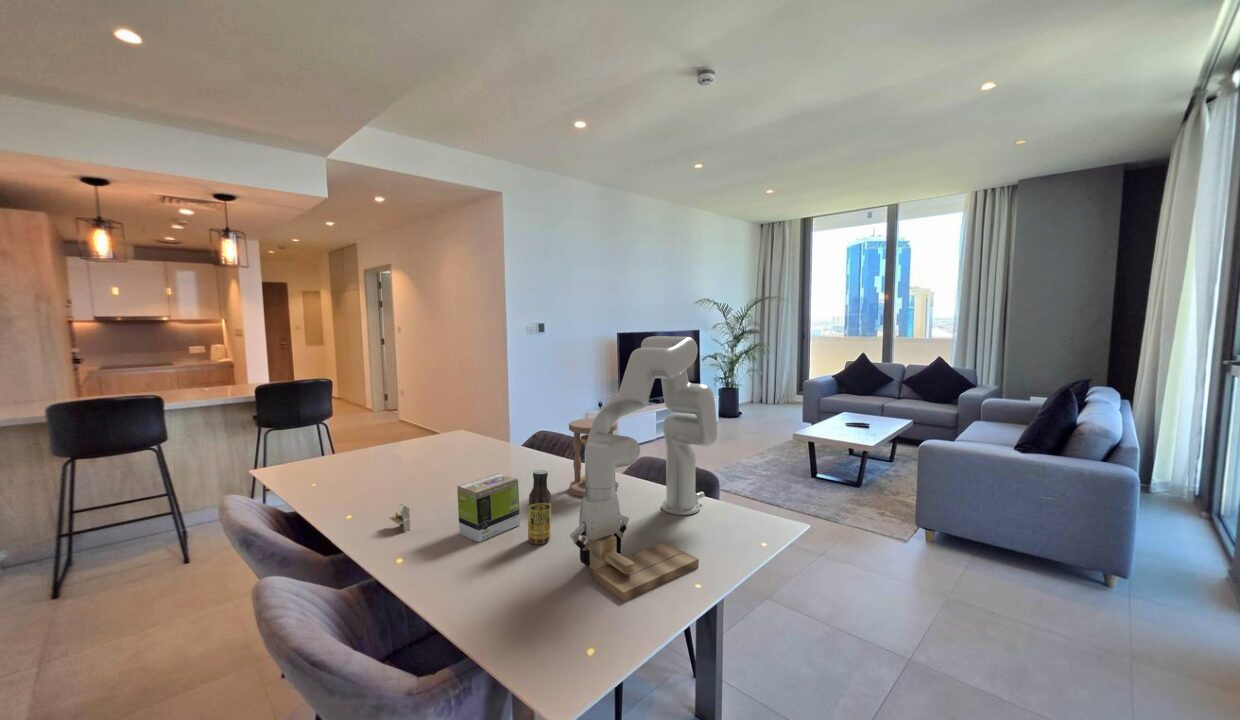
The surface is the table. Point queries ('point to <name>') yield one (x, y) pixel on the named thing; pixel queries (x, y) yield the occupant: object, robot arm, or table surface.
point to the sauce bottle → (539, 509)
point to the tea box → (488, 506)
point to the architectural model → (402, 518)
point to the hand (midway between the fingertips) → (601, 557)
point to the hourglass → (584, 428)
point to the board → (646, 571)
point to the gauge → (608, 555)
